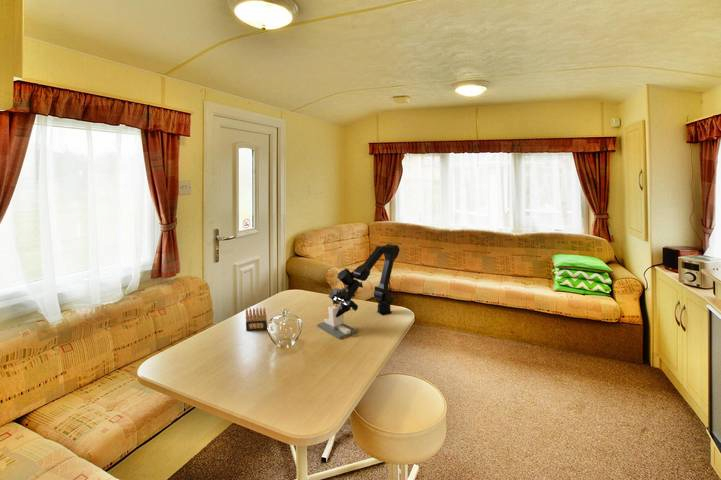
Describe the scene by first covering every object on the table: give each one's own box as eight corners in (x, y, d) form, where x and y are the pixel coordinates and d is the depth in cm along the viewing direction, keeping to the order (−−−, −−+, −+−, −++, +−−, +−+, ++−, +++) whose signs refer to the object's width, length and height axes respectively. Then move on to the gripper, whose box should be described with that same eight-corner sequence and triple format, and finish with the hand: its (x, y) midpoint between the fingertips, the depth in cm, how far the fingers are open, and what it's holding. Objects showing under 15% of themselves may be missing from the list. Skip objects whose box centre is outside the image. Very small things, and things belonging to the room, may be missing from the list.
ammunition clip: (268, 328, 178) (266, 306, 176) (267, 330, 176) (265, 307, 174) (247, 329, 177) (245, 307, 175) (246, 331, 175) (244, 308, 173)
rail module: (339, 324, 177) (338, 301, 175) (344, 326, 174) (342, 303, 172) (329, 327, 173) (328, 304, 171) (334, 330, 170) (332, 306, 168)
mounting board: (317, 326, 178) (316, 321, 178) (334, 320, 185) (334, 315, 184) (339, 339, 163) (339, 333, 162) (357, 332, 170) (357, 327, 169)
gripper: (330, 277, 179) (313, 302, 174) (352, 285, 165) (334, 313, 160) (343, 289, 186) (327, 313, 181) (365, 297, 171) (348, 324, 166)
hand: (333, 315), depth 172 cm, fingers closed on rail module, 4 cm apart
